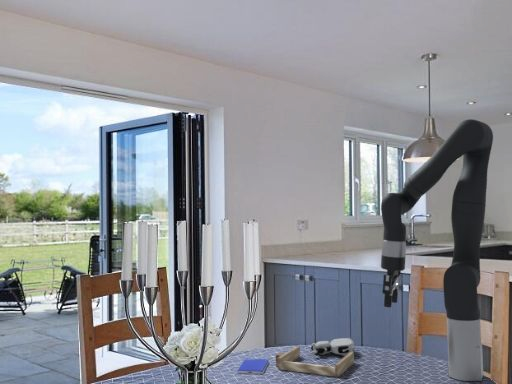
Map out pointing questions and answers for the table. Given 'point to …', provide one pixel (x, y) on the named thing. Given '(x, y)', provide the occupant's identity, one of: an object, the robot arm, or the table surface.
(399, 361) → the table surface
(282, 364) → the wooden tray
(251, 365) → the hard drive
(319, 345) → the robot toy
